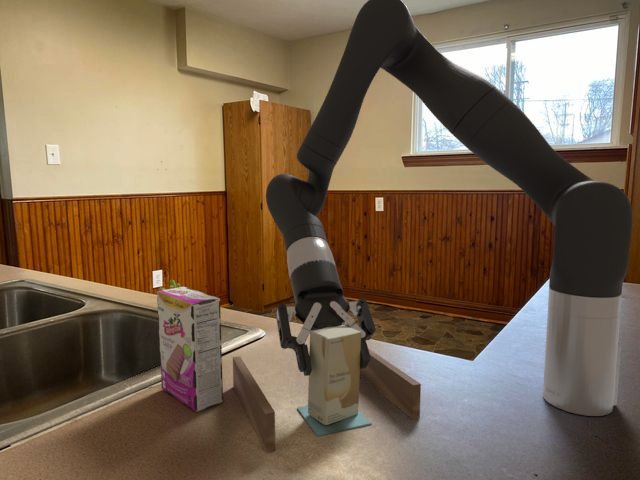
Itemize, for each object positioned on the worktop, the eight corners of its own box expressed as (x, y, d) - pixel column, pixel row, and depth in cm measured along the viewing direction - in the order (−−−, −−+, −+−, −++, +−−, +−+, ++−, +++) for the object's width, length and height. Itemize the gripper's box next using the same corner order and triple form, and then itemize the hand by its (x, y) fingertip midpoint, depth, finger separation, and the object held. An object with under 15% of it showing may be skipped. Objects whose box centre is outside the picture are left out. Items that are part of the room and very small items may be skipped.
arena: (355, 366, 81) (356, 340, 81) (419, 417, 63) (420, 383, 63) (233, 386, 73) (232, 357, 73) (265, 452, 55) (265, 413, 54)
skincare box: (325, 427, 60) (326, 339, 59) (306, 414, 63) (307, 330, 62) (360, 413, 64) (362, 330, 62) (341, 401, 67) (343, 323, 66)
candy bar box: (159, 390, 72) (155, 290, 70) (187, 381, 75) (184, 285, 73) (195, 415, 64) (191, 302, 62) (224, 403, 67) (222, 296, 66)
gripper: (271, 260, 66) (290, 364, 56) (361, 256, 70) (393, 352, 61) (265, 288, 72) (282, 387, 62) (349, 282, 76) (376, 374, 66)
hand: (337, 369), depth 61 cm, fingers open, 7 cm apart
